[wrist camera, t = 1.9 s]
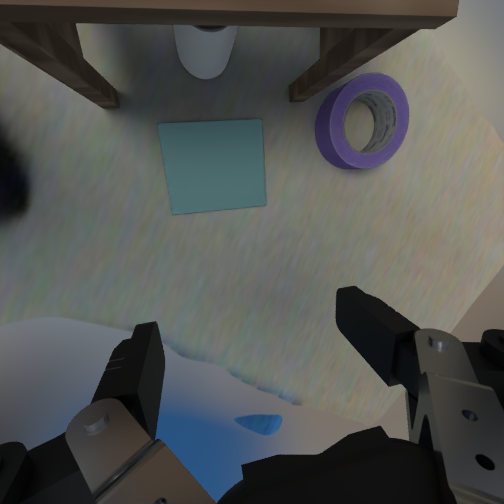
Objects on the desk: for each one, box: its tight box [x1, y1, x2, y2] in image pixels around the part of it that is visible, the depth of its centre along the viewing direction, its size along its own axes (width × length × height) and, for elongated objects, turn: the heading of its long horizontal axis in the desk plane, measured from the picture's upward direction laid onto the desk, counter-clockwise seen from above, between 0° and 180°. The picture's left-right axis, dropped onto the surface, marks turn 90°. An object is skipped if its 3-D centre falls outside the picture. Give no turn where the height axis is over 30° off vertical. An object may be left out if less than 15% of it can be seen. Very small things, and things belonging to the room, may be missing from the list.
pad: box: [157, 119, 266, 215], centre depth 37 cm, size 12×14×1 cm
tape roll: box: [315, 73, 409, 169], centre depth 37 cm, size 12×12×5 cm
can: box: [173, 25, 239, 79], centre depth 27 cm, size 6×6×12 cm
